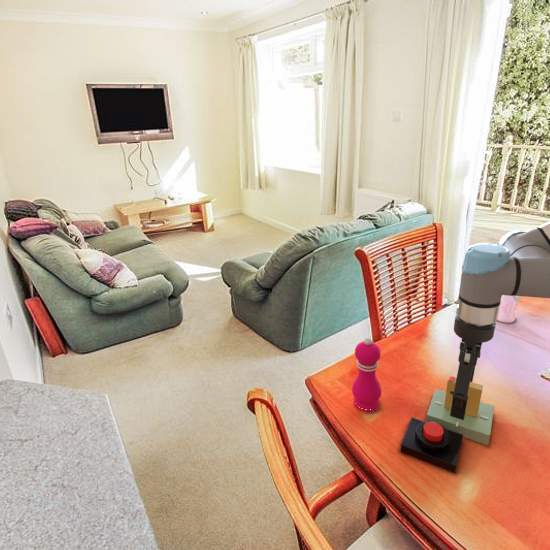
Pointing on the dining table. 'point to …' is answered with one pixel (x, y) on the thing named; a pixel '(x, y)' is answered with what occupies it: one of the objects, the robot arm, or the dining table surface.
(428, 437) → the button
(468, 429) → the plate
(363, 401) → the pepper mill
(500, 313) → the beer glass
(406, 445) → the button block
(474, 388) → the handle
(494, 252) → the robot arm
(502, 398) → the dining table surface
